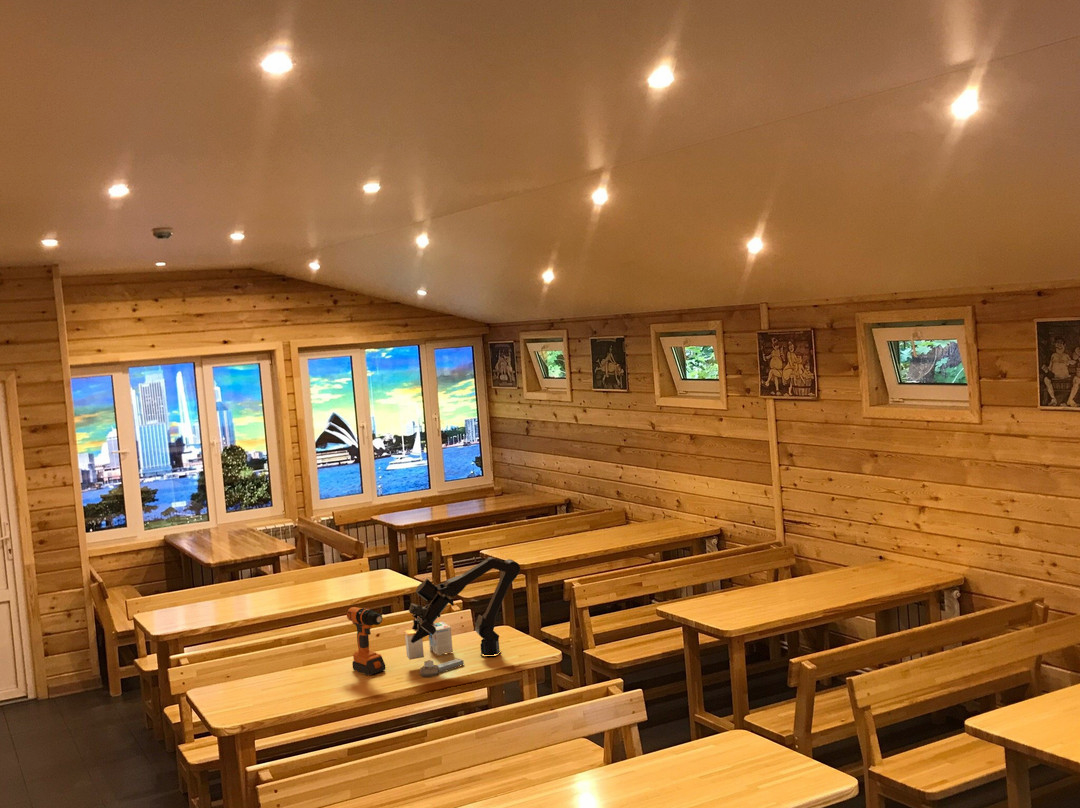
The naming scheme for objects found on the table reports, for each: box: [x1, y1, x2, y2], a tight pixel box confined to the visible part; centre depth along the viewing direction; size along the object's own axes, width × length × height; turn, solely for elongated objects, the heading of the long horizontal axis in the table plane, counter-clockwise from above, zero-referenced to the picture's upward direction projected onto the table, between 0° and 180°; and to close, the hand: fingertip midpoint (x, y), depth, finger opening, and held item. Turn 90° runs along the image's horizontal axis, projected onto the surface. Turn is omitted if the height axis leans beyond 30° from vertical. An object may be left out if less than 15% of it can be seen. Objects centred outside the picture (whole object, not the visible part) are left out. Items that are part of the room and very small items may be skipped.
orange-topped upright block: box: [404, 628, 425, 661], centre depth 397 cm, size 6×6×10 cm
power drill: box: [346, 606, 386, 676], centre depth 397 cm, size 22×7×25 cm, turn 41°
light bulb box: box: [428, 621, 454, 656], centre depth 417 cm, size 11×7×11 cm, turn 25°
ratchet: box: [419, 658, 465, 678], centre depth 391 cm, size 18×7×5 cm, turn 130°
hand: (410, 640), depth 397 cm, fingers closed on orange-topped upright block, 6 cm apart
